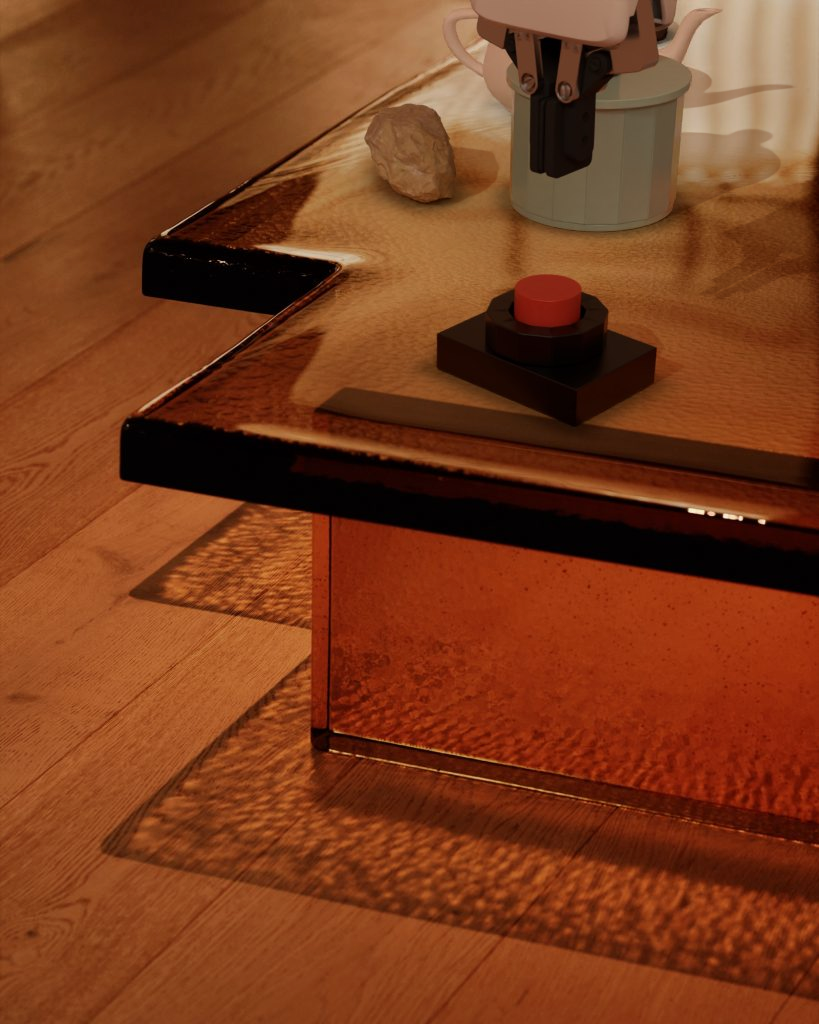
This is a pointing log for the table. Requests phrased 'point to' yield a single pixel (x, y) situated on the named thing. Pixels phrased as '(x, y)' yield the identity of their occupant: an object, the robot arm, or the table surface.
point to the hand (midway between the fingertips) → (560, 168)
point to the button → (547, 300)
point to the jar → (603, 171)
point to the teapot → (500, 60)
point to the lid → (633, 85)
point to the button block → (548, 360)
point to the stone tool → (412, 152)
